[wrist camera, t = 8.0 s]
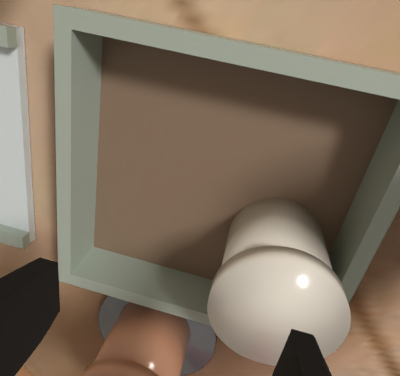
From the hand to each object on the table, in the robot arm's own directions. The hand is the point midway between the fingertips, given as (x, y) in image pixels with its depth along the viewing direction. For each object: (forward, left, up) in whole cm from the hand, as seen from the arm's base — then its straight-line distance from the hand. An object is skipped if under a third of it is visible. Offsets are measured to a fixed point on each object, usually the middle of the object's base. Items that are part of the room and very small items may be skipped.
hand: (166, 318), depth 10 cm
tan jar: (+2, +12, -10) cm, 16 cm away
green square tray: (0, 0, -10) cm, 10 cm away
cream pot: (-4, +2, -10) cm, 11 cm away
